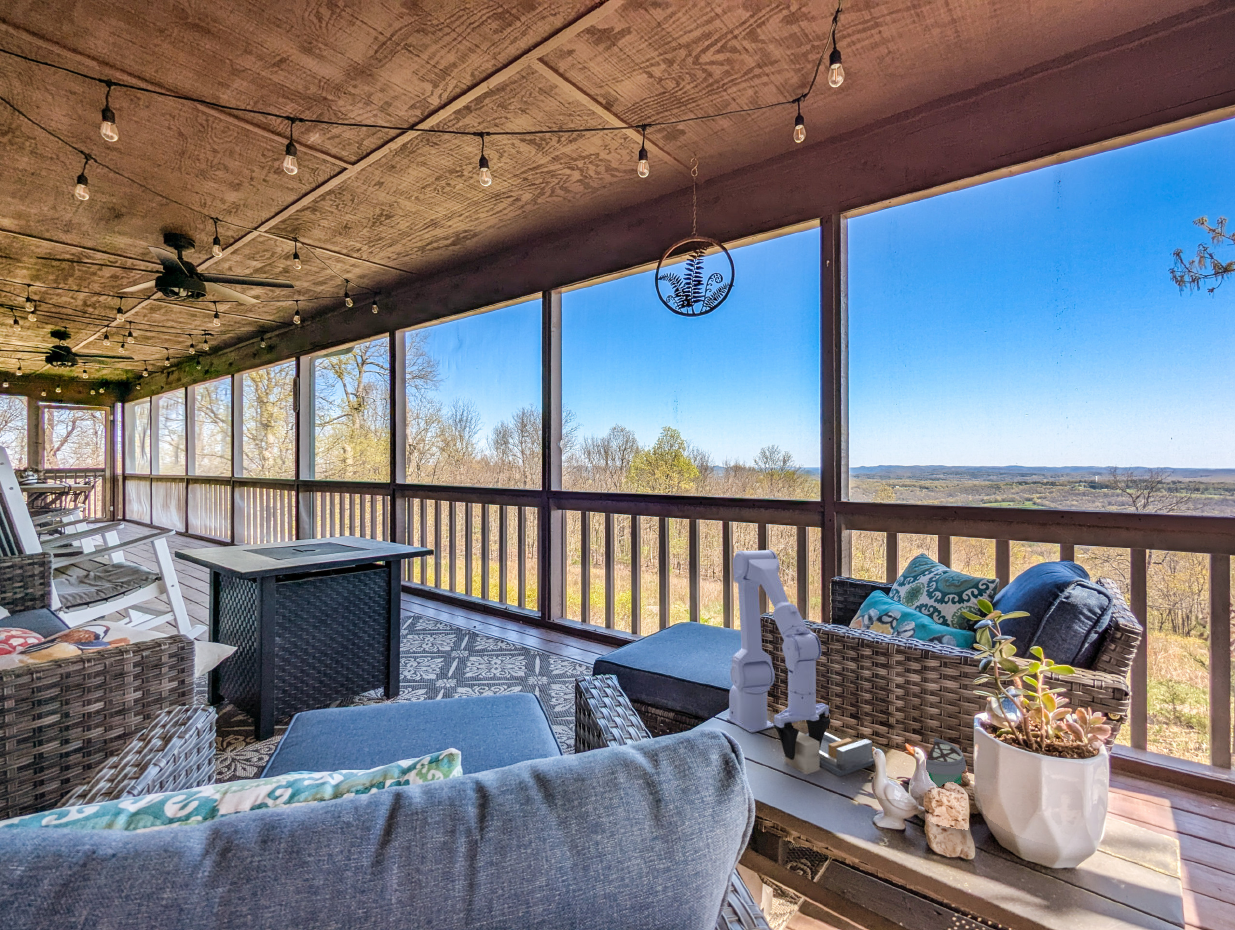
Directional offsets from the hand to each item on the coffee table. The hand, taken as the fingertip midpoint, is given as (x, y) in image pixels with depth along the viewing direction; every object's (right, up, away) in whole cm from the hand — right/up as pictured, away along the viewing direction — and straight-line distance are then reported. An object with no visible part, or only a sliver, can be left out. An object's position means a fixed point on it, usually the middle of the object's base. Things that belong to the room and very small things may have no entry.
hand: (802, 753), depth 123 cm
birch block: (0, -3, 0) cm, 3 cm away
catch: (+9, -2, +2) cm, 9 cm away
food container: (+23, -3, -15) cm, 27 cm away
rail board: (+7, -3, +5) cm, 9 cm away
